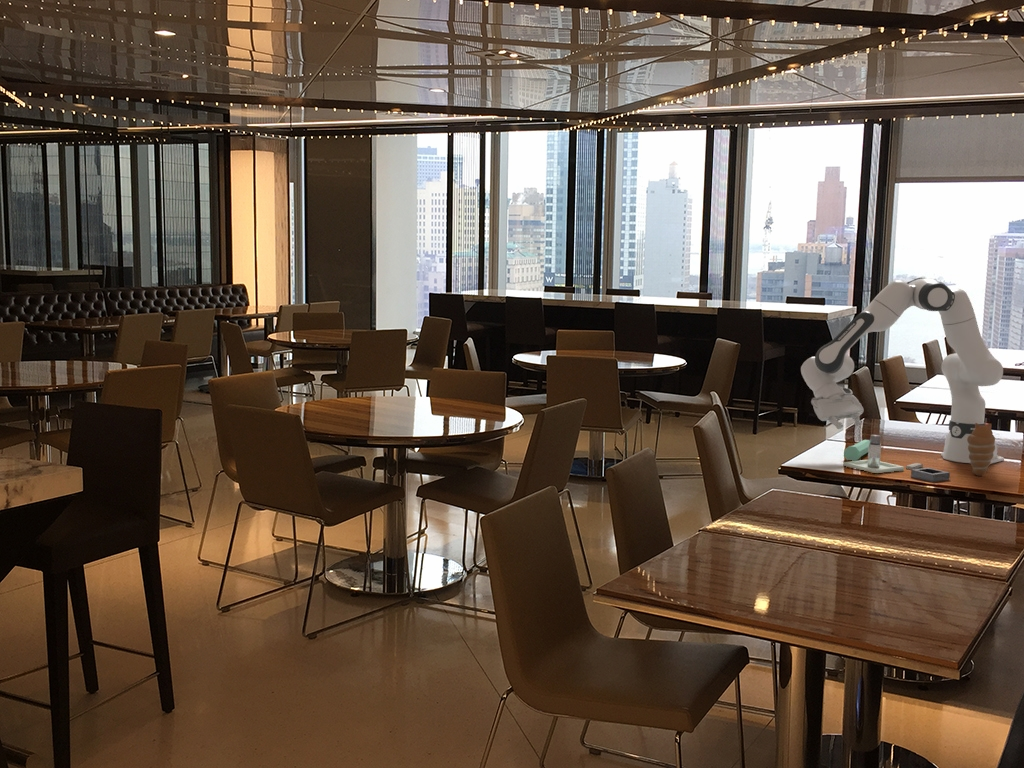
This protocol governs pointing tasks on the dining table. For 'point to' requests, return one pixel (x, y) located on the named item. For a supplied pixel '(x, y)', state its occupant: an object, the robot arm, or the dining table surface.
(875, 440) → the grey capped bottle
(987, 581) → the dining table surface
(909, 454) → the dining table surface
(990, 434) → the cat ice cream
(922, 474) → the socket collar
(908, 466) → the drift key
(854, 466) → the tray
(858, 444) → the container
